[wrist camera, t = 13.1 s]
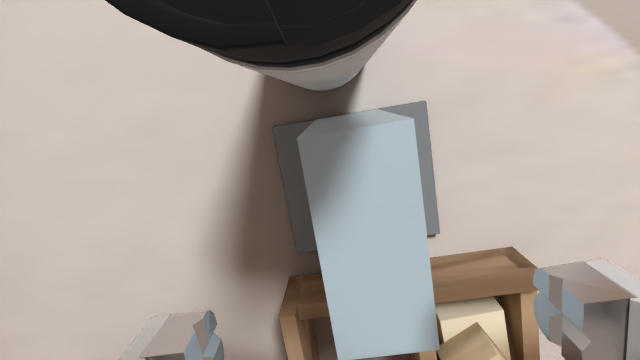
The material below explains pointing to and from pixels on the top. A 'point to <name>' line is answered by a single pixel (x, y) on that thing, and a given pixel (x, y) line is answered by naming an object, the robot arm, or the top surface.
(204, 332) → the robot arm
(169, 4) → the travel mug
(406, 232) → the board
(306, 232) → the mat
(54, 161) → the top surface
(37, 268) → the top surface
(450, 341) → the upper offcut
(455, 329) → the block
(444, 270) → the rack
